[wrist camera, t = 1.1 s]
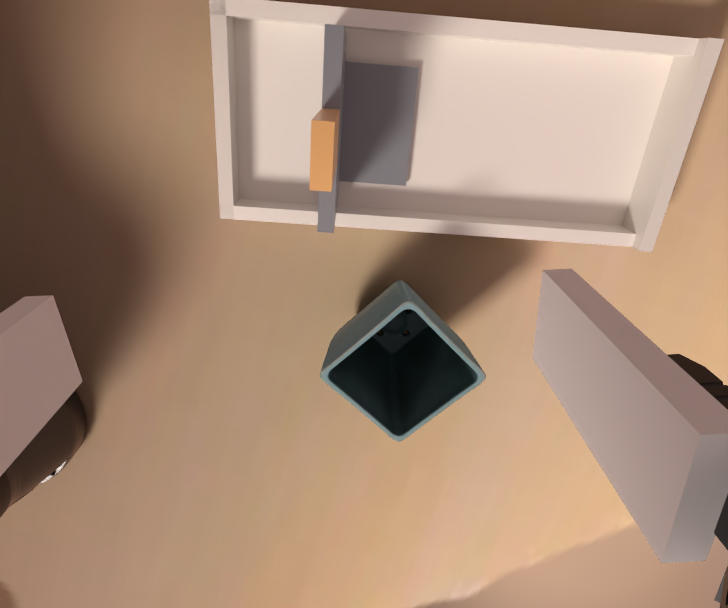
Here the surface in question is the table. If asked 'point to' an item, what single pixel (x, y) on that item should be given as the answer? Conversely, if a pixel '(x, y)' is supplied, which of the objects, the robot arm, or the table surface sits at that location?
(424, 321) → the flower pot
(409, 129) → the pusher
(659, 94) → the white tray
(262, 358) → the table surface
